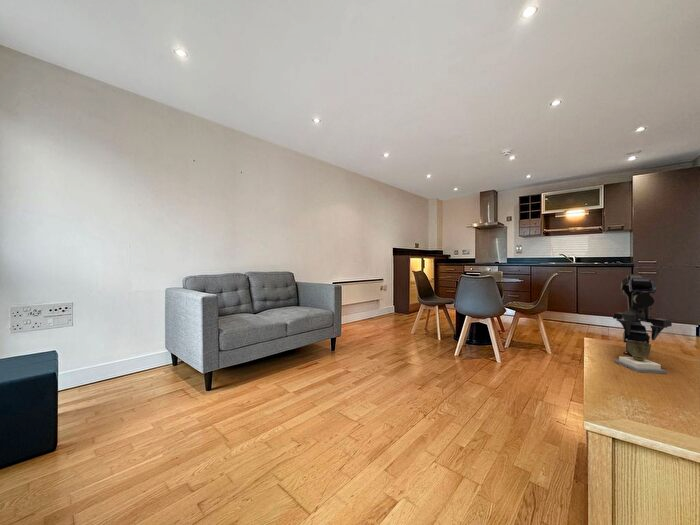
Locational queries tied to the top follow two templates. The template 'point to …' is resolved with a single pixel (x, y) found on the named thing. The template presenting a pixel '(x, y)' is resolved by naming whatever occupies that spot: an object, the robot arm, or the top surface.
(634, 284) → the robot arm
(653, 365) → the stand
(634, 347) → the cup
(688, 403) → the top surface
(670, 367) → the top surface
